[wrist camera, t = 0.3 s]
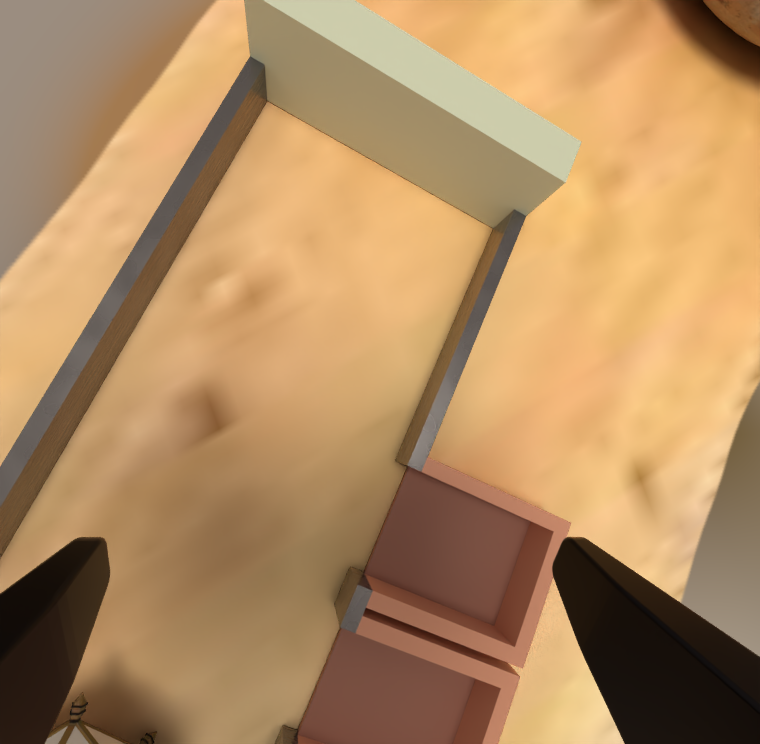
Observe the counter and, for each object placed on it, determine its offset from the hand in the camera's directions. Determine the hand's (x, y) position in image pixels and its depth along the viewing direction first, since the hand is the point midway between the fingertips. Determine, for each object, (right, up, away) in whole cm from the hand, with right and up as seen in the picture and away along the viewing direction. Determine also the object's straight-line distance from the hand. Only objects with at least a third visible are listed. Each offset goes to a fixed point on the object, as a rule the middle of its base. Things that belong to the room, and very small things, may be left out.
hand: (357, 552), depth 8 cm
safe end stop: (+1, +17, +17) cm, 24 cm away
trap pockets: (+3, -10, +14) cm, 18 cm away
